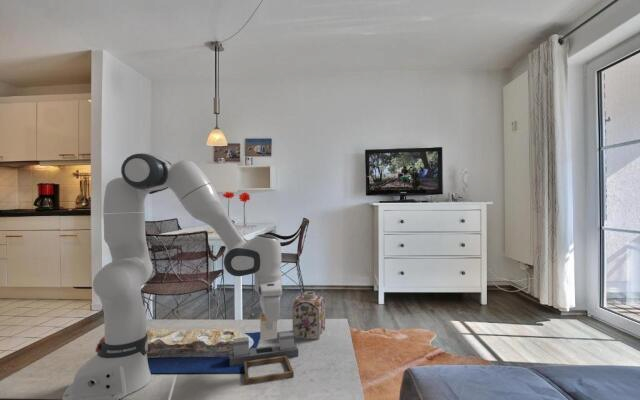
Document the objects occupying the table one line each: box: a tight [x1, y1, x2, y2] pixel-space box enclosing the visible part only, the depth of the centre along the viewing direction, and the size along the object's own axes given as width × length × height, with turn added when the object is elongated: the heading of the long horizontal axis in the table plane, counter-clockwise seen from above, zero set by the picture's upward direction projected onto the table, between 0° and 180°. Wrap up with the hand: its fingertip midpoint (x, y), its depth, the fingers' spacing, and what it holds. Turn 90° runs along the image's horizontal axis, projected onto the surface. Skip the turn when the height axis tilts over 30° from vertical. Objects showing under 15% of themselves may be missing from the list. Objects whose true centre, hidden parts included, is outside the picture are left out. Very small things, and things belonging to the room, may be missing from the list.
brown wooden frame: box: [243, 356, 295, 385], centre depth 105 cm, size 15×12×2 cm
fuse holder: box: [229, 342, 299, 367], centre depth 114 cm, size 24×6×4 cm, turn 107°
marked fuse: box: [259, 313, 278, 341], centre depth 105 cm, size 5×3×7 cm, turn 107°
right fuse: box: [278, 331, 295, 350], centre depth 116 cm, size 5×3×7 cm, turn 107°
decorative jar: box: [292, 291, 326, 340], centre depth 136 cm, size 12×12×18 cm
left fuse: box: [233, 337, 250, 357], centre depth 112 cm, size 5×3×7 cm, turn 107°
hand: (268, 326), depth 105 cm, fingers closed on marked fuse, 3 cm apart
